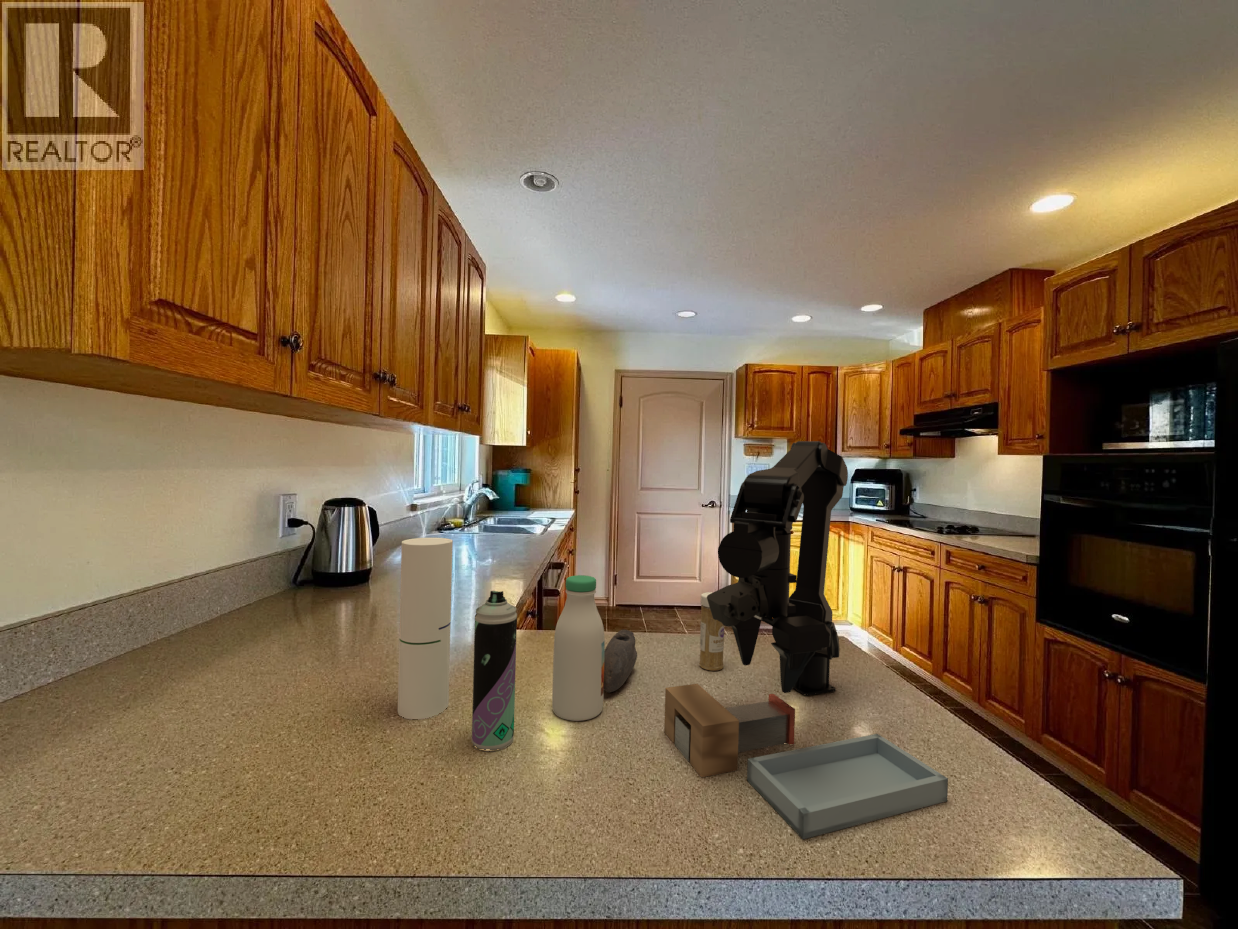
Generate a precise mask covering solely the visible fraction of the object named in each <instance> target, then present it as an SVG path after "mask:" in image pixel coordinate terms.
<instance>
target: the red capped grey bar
mask: <svg viewBox="0 0 1238 929" xmlns="http://www.w3.org/2000/svg"><path fill="white" fill-rule="evenodd" d="M725 708H726V709H727V710H728V711H729V712H730V713H731V714H732V715H733V716H735V717H736V718H737V719H738V720H739V735H738V754H739V753H744V752H749V751H754V749H755V750H759V749H765V748H769V747H768V746H771V747H775V745H776V746H780V744H781V745H785V744H784V743H788V744H787V745H788V746H790V744H792V745H794V744H795V726H796V720H795V719H796V716H795V715H796V709H795V708H794V707H793V706H791V705H790V704H789V703H788V702H786V701H784V700H783V699H782V698H780V697H779V696H778V695H776V694H775V693H769V694H768V701H762V702H757V703H750V704H743V705H738V706H737V705H736V706H730V707H725ZM690 744H691V725H690V724H689V723H688V722H687V721H686V719H685V718H684V717H683V716H682V715H677V716H676V719H675V743H674V746H675V747H676V748H677V750H678V751H679V752H680V753H681V754H682V756H683V758H685V760H686V761H687V763H690ZM764 747H765V748H764Z"/></svg>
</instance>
